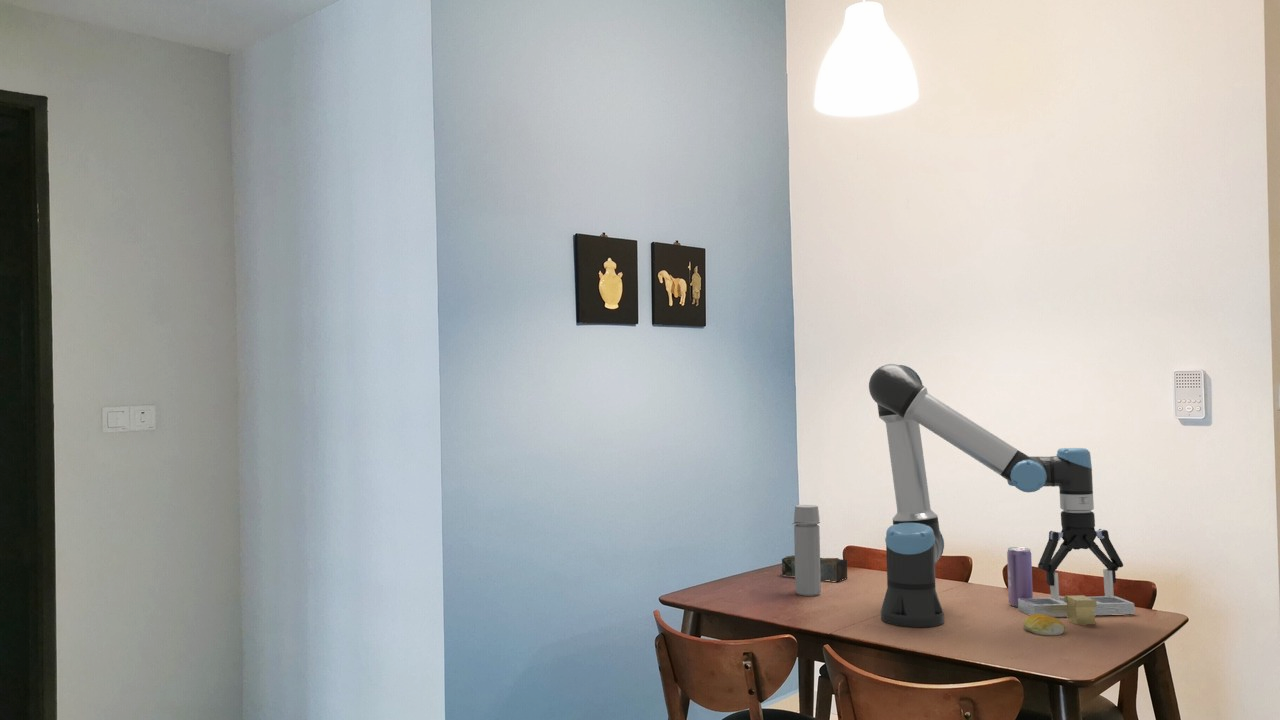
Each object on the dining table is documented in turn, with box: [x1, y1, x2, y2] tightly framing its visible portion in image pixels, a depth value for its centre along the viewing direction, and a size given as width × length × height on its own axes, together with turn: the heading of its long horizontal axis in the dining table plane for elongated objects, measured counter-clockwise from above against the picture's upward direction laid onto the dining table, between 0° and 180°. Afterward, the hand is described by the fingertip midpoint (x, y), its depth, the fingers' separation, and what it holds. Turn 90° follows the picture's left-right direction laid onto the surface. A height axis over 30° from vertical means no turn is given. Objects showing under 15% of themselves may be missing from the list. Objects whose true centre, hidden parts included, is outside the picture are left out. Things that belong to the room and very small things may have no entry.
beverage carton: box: [781, 555, 848, 582], centre depth 283 cm, size 8×19×7 cm, turn 55°
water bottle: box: [791, 504, 822, 597], centre depth 261 cm, size 9×8×25 cm
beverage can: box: [1006, 546, 1034, 608], centre depth 242 cm, size 6×6×15 cm
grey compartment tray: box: [1017, 595, 1136, 618], centre depth 233 cm, size 26×8×3 cm, turn 92°
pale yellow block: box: [1063, 594, 1097, 626], centre depth 223 cm, size 5×6×6 cm
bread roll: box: [1023, 614, 1065, 636], centre depth 215 cm, size 8×9×4 cm
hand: (1082, 597), depth 223 cm, fingers open, 13 cm apart
